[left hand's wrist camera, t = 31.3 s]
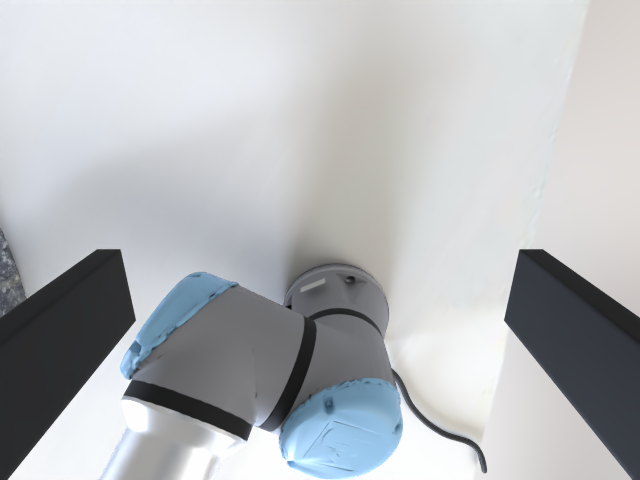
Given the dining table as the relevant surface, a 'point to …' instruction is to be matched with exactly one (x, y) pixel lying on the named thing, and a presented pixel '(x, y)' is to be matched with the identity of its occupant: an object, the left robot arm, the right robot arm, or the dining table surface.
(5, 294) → the concrete block
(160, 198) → the dining table surface
